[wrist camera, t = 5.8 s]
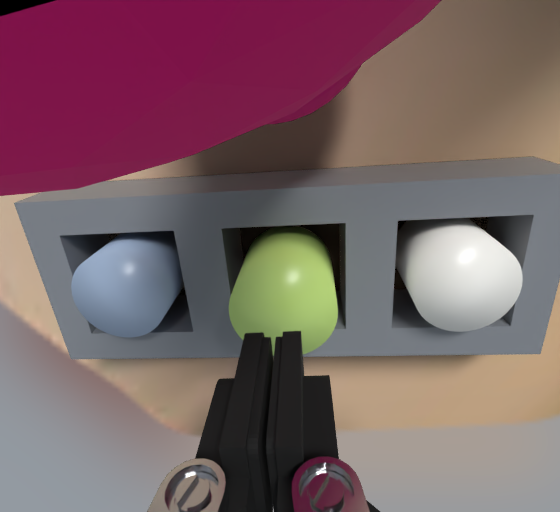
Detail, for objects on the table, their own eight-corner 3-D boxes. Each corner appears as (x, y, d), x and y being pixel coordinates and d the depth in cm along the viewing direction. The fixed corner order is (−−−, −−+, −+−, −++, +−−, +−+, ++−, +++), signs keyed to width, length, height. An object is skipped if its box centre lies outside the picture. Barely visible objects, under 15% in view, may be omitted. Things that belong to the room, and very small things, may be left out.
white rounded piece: (484, 206, 17) (532, 237, 13) (472, 283, 19) (512, 330, 15) (394, 210, 17) (417, 242, 14) (390, 286, 19) (409, 332, 15)
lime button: (331, 223, 16) (337, 261, 13) (332, 302, 18) (338, 356, 14) (240, 227, 17) (221, 265, 13) (250, 304, 18) (235, 357, 15)
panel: (532, 156, 16) (586, 172, 13) (502, 311, 20) (540, 353, 16) (64, 183, 19) (14, 203, 15) (105, 319, 22) (71, 359, 19)
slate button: (185, 220, 18) (154, 252, 15) (198, 291, 20) (173, 336, 16) (107, 223, 19) (58, 256, 15) (126, 293, 20) (86, 338, 17)
